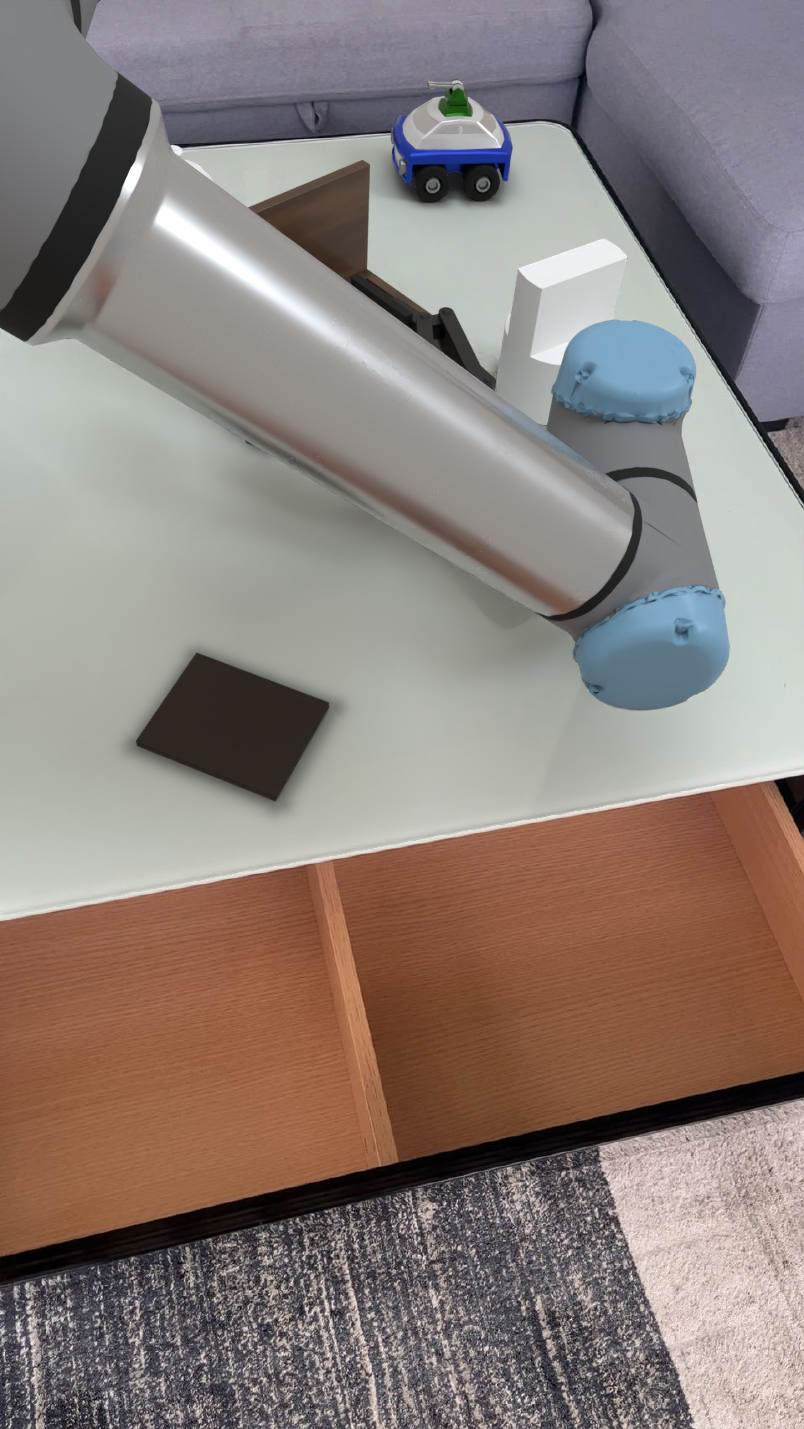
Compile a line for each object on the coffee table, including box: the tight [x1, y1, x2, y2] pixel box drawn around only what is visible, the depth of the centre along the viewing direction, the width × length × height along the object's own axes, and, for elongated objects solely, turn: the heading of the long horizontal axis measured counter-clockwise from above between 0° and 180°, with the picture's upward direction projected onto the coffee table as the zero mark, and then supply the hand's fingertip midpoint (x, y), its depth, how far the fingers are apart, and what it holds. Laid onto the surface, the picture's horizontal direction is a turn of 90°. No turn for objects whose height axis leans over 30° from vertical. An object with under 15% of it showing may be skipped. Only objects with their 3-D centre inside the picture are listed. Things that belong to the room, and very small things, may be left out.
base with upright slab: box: [495, 237, 628, 426], centre depth 86 cm, size 9×9×12 cm
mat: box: [135, 652, 330, 802], centre depth 70 cm, size 10×8×1 cm
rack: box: [247, 159, 443, 353], centre depth 87 cm, size 12×20×12 cm, turn 132°
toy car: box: [390, 78, 514, 203], centre depth 106 cm, size 9×12×10 cm
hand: (287, 322), depth 83 cm, fingers open, 13 cm apart
